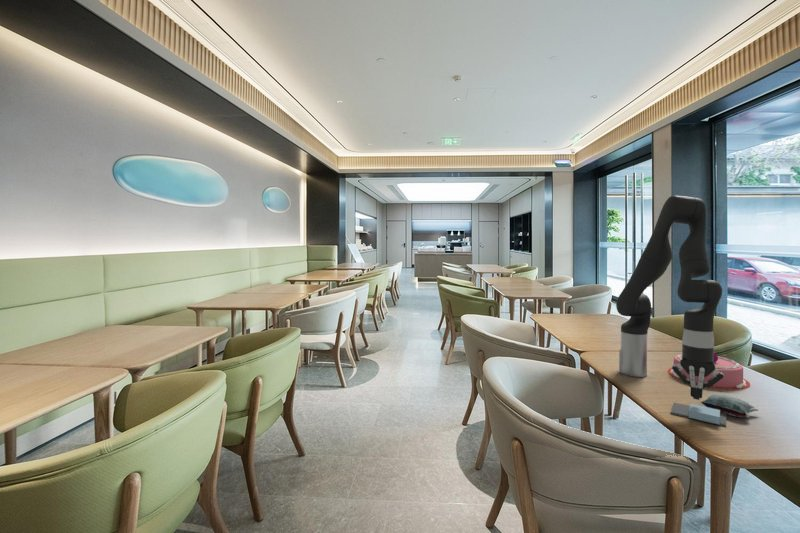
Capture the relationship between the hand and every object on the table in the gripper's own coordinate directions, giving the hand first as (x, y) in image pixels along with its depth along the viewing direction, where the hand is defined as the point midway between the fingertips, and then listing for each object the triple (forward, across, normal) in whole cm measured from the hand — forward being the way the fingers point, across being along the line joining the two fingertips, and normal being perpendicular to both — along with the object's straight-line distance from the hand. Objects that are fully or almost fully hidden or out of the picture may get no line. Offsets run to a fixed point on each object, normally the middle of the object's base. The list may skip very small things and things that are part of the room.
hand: (696, 398), depth 113 cm
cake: (+6, +1, +43) cm, 43 cm away
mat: (+5, 0, 0) cm, 5 cm away
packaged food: (+5, +8, +9) cm, 13 cm away
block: (+3, +2, 0) cm, 4 cm away
